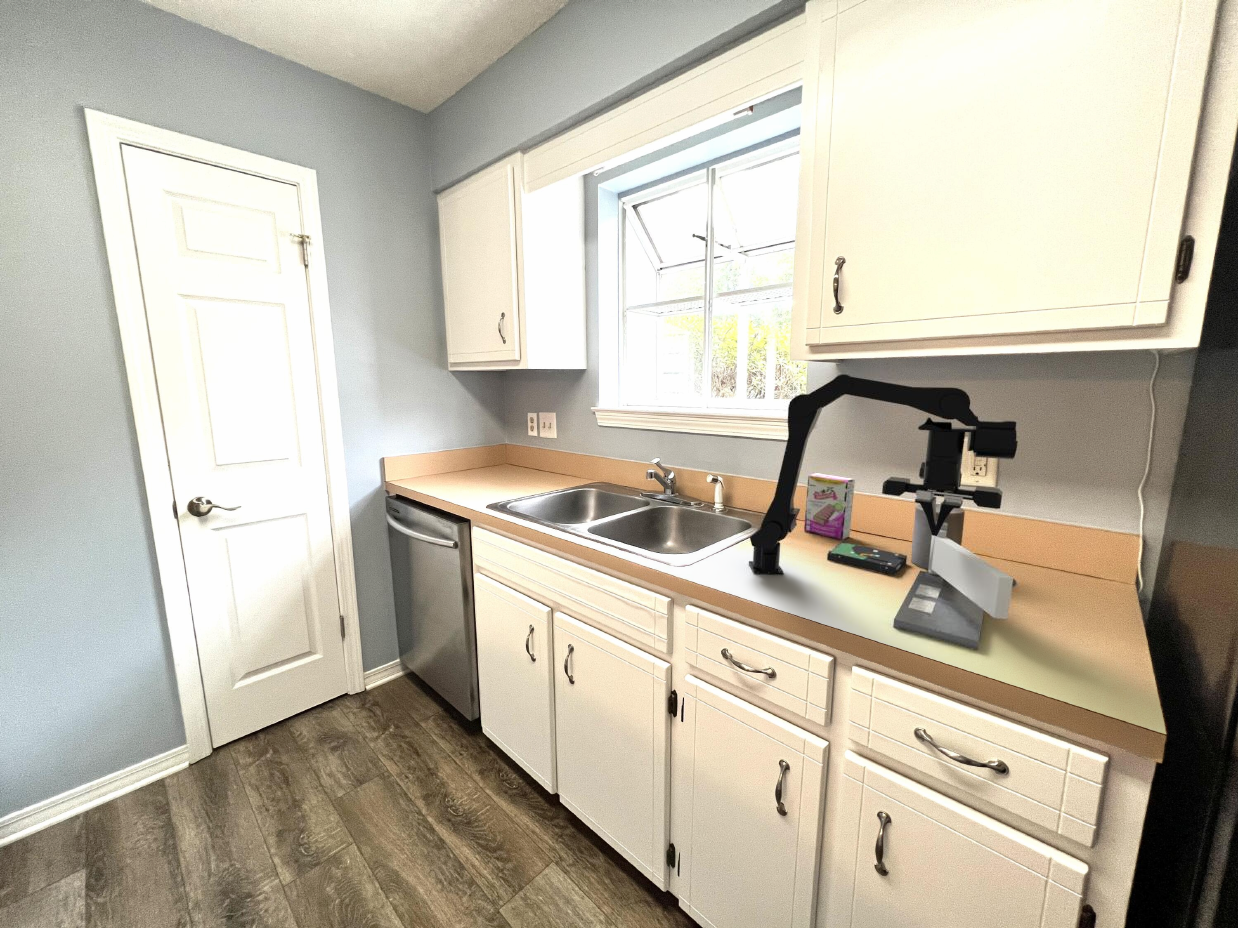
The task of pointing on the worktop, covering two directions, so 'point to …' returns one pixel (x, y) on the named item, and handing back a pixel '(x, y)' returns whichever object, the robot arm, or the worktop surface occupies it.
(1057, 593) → the worktop surface
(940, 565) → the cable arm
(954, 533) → the pillar candle
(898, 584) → the worktop surface
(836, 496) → the candy bar box
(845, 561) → the disk drive
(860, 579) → the worktop surface
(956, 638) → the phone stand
